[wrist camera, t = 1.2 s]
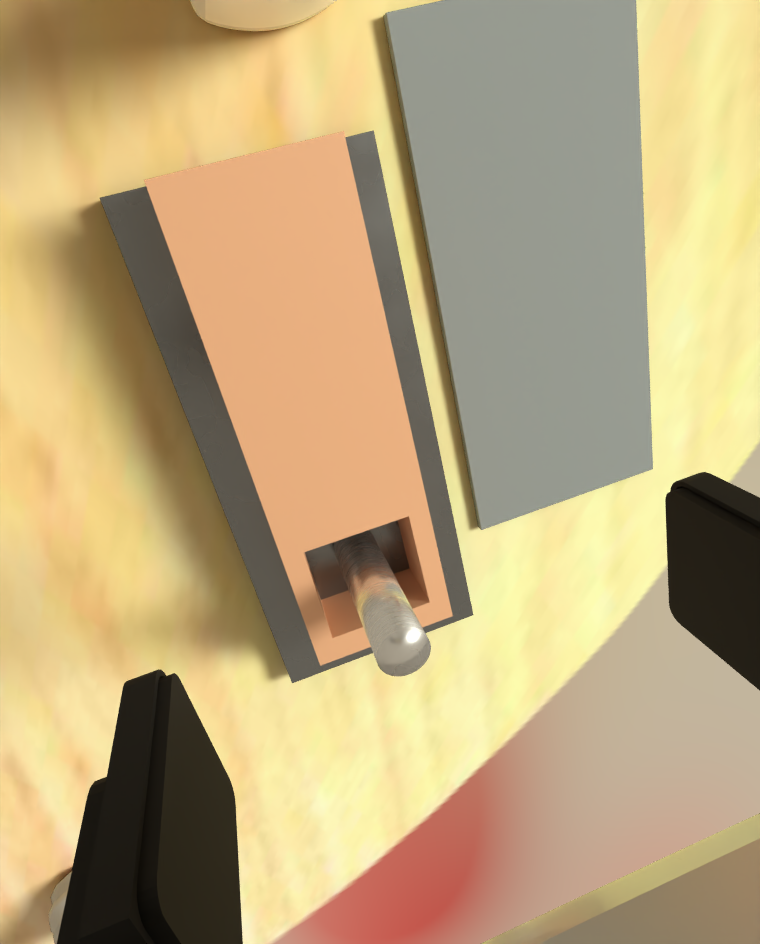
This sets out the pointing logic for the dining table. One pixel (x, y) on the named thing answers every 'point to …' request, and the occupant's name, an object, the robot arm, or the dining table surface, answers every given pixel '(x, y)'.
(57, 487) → the dining table surface
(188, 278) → the link bar
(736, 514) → the robot arm
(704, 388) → the dining table surface
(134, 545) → the dining table surface
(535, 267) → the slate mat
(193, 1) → the eye dropper bottle
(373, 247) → the pin stand
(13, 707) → the dining table surface
